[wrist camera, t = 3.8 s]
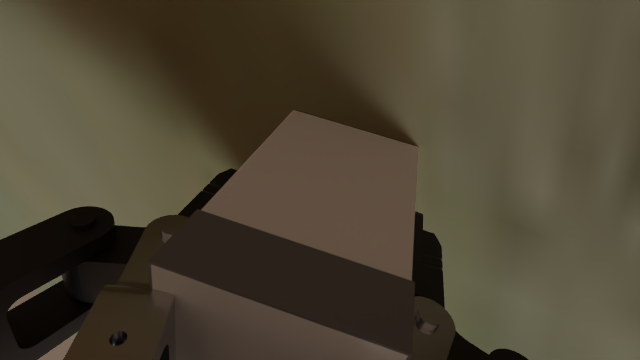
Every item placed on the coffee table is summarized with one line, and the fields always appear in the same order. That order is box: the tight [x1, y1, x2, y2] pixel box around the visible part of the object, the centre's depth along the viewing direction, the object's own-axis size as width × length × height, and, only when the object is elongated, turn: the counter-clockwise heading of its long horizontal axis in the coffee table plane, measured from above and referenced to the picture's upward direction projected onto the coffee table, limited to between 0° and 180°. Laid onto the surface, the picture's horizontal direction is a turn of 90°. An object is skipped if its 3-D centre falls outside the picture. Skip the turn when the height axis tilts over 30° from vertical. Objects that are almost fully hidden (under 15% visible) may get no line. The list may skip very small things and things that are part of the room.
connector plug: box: [148, 110, 418, 360], centre depth 11 cm, size 5×5×8 cm
